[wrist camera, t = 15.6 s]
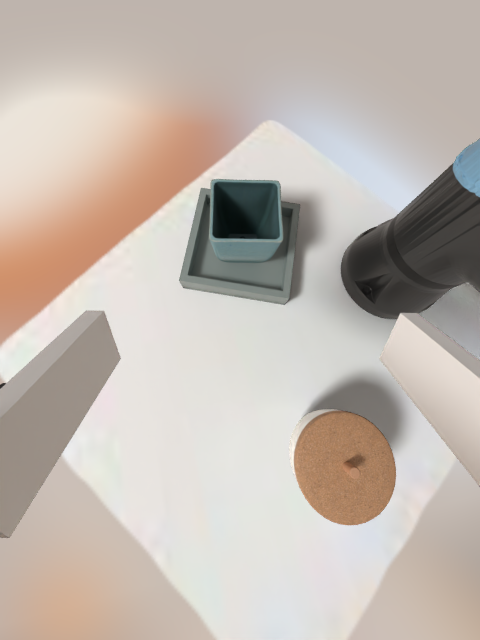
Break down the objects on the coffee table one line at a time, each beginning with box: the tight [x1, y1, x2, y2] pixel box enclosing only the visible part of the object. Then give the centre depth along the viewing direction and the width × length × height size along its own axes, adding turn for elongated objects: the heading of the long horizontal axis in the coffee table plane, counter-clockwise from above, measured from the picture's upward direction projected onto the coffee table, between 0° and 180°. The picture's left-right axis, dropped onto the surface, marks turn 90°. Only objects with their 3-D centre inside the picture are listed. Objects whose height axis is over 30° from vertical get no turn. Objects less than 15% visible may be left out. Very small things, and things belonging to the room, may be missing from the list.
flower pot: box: [209, 179, 283, 263], centre depth 32 cm, size 9×9×9 cm
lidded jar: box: [289, 409, 396, 525], centre depth 27 cm, size 11×11×9 cm
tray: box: [179, 188, 300, 305], centre depth 36 cm, size 16×16×3 cm
